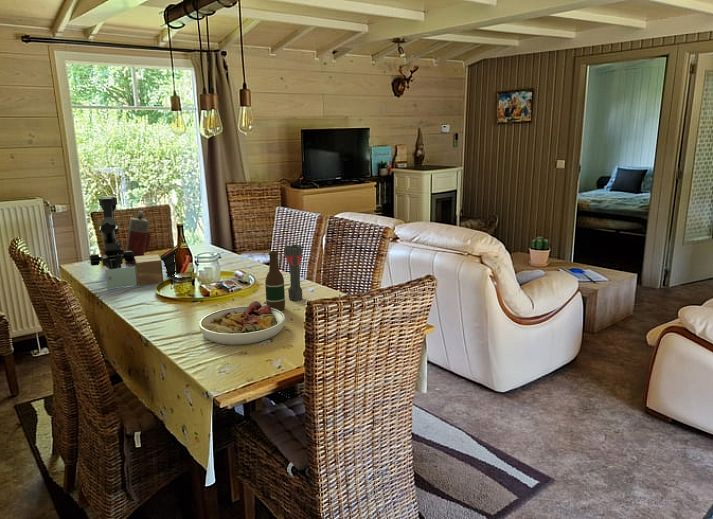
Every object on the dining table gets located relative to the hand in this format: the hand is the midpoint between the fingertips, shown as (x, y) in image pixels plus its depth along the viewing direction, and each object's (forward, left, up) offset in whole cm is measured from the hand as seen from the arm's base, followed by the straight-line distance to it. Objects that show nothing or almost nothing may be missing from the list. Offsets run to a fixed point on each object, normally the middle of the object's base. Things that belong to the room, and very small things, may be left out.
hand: (114, 273), depth 251 cm
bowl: (+85, +39, -7) cm, 94 cm away
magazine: (-10, +29, -7) cm, 31 cm away
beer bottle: (+67, +57, -7) cm, 88 cm away
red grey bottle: (-51, +13, -6) cm, 53 cm away
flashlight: (+56, +69, -7) cm, 89 cm away
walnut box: (-6, +16, -7) cm, 18 cm away
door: (+3, +3, -7) cm, 8 cm away
